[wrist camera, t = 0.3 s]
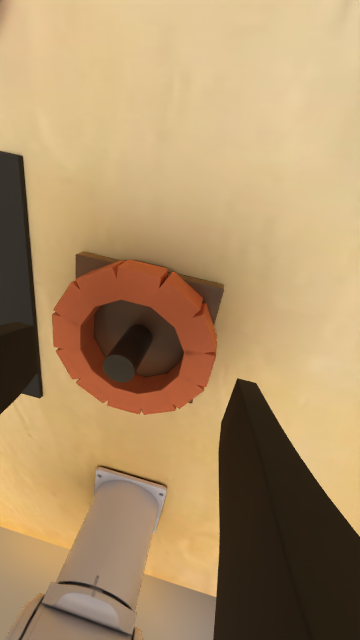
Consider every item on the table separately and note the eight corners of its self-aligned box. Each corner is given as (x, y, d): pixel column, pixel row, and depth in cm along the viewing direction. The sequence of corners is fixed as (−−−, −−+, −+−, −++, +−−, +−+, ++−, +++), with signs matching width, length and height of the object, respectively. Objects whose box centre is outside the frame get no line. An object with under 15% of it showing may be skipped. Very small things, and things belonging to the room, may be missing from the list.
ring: (196, 410, 21) (193, 430, 19) (70, 375, 21) (55, 391, 20) (234, 283, 16) (234, 294, 14) (67, 244, 16) (48, 250, 15)
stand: (193, 395, 21) (183, 447, 17) (81, 365, 22) (44, 407, 18) (224, 284, 17) (222, 315, 12) (83, 251, 18) (33, 268, 13)
